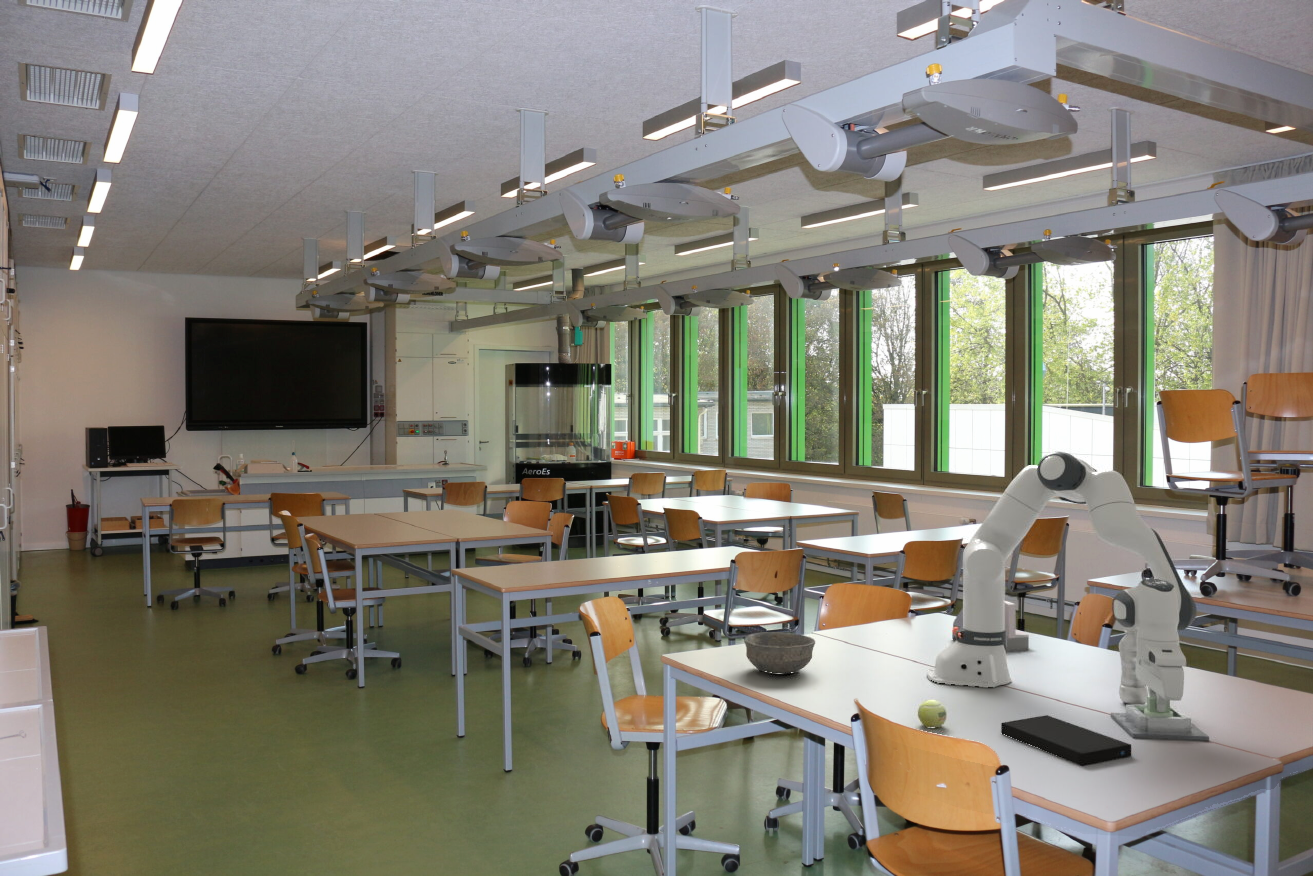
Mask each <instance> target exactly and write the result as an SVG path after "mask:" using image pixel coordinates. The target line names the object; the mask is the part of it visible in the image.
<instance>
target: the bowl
mask: <svg viewBox="0 0 1313 876" xmlns="http://www.w3.org/2000/svg"><path fill="white" fill-rule="evenodd" d="M743 640H744V645H745V648H746V658H747V660H748V661H749V662H750V663H751V664H752V665H753V667H755V668H756V669H758V670H759V671H761V670H762V672H764V671H767V672H772V673H791V672H794V673H796V671H797V672H799V671H801V670H803V669H804V668H806V666H807V665H808V664H809V663H810V662H811V660H812V658H813V650H814V647H815V644H816V640H815V639H814V638H812V637H810V636H807V635H804V634H803V635H802V634H797V633H788V632H774V631H771V632H767V631H766V632H763V631H762V632H755V633H751V634H748V635H746V636H745V637H744V638H743ZM767 672H766V673H767ZM791 674H792V673H791Z"/></svg>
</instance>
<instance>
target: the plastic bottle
mask: <svg viewBox="0 0 1313 876" xmlns="http://www.w3.org/2000/svg"><path fill="white" fill-rule="evenodd" d="M1123 631H1124V633H1125V634H1124V636H1123V637H1122V638H1121V640H1119V643H1118V649H1119V650H1118V651H1119V656H1120V666H1121V668H1120V669H1121V675H1120V684H1119V690H1118V694H1119V699H1120V700H1121V702H1123V703H1124V704H1126V705H1132V704H1147V697H1149V692H1148V686H1147V685H1145V684H1144V683H1143V682H1141V681H1140V680H1139V679H1137V677H1136V656H1137V632H1138V630H1137V629H1133V628H1127V627H1124V630H1123Z"/></svg>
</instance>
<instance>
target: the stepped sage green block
mask: <svg viewBox="0 0 1313 876" xmlns="http://www.w3.org/2000/svg"><path fill="white" fill-rule="evenodd" d="M1155 702H1156V703H1157V697H1150V696H1148V697H1147V702H1146V705H1147V708H1145V709H1144V715H1145V716H1165V717H1173V712H1172V711H1170V706H1171V700H1167V703H1166V711H1165V712H1159V711H1157V710H1156V709H1155V707H1156V706H1155Z"/></svg>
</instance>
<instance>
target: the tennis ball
mask: <svg viewBox="0 0 1313 876" xmlns="http://www.w3.org/2000/svg"><path fill="white" fill-rule="evenodd" d="M917 717H918V719H919V720H920V723H921V724H922V726H924V727H925V726H926V727H938V728H941V727H942V725H944V724H945V722H946V720H947V709H946V707H945V706H944V705H943V704H942V703H941V702H940V701H938V700H937V699H936V700H935V699H933V698H932V699H928V700H925V701H923V702H922V703H921V704H920V705H919V707H918V709H917ZM926 727H925V728H926Z"/></svg>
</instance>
